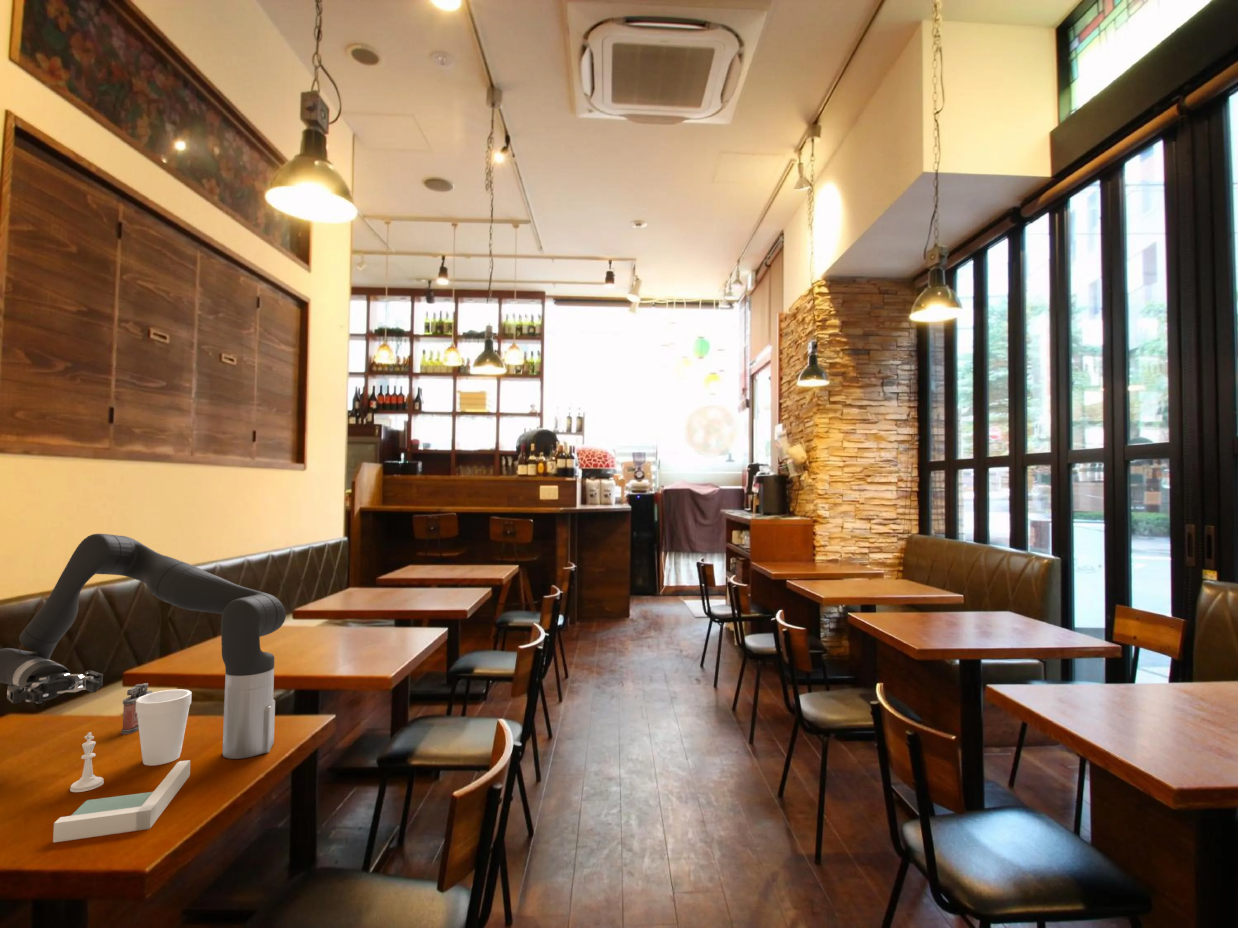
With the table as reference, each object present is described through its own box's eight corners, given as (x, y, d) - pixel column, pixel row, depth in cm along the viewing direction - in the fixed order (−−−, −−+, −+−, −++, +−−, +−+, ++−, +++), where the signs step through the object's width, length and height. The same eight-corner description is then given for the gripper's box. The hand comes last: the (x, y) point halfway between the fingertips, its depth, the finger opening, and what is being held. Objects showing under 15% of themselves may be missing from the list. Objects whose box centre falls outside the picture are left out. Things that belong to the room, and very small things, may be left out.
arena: (189, 775, 124) (190, 759, 124) (150, 828, 104) (150, 809, 104) (103, 785, 119) (104, 769, 119) (45, 843, 99) (46, 824, 100)
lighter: (140, 721, 153) (142, 680, 154) (155, 721, 153) (156, 679, 154) (117, 734, 145) (119, 690, 146) (132, 733, 145) (134, 690, 146)
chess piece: (84, 793, 116) (86, 738, 117) (62, 790, 117) (65, 736, 118) (110, 781, 121) (112, 728, 122) (89, 779, 122) (92, 726, 123)
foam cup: (141, 753, 134) (144, 692, 135) (193, 747, 138) (195, 687, 138) (127, 771, 125) (130, 705, 126) (182, 764, 129) (185, 699, 130)
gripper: (-4, 668, 129) (22, 682, 120) (83, 654, 141) (113, 665, 132) (-6, 705, 129) (20, 721, 120) (81, 687, 141) (110, 701, 132)
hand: (68, 692), depth 126 cm, fingers open, 8 cm apart
